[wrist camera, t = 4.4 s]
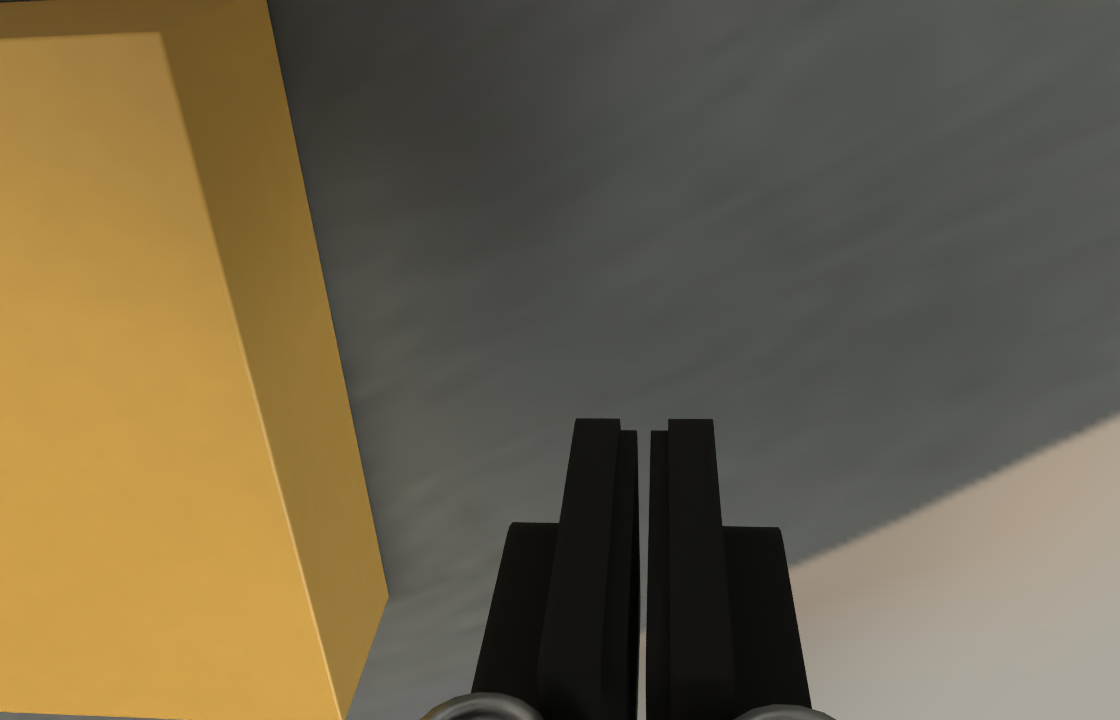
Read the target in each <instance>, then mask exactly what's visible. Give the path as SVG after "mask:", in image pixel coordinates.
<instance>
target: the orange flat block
mask: <svg viewBox="0 0 1120 720" xmlns="http://www.w3.org/2000/svg"><path fill="white" fill-rule="evenodd" d="M388 596H389V595H388V590H387V585H386V580H385V575H384V571H383V566H382V561H381V556H380V551H379V546H378V541H377V536H376V532H375V527H374V522H373V517H372V512H371V507H370V502H369V497H368V493H367V488H366V483H365V478H364V473H363V468H362V463H361V459H360V454H359V449H358V444H357V439H356V434H355V429H354V424H353V420H352V415H351V410H350V405H349V400H348V395H347V390H346V386H345V381H344V376H343V371H342V366H341V361H340V356H339V351H338V347H337V342H336V337H335V332H334V327H333V322H332V317H331V312H330V308H329V303H328V298H327V293H326V288H325V283H324V278H323V274H322V269H321V264H320V259H319V254H318V249H317V244H316V239H315V235H314V230H313V225H312V220H311V215H310V210H309V205H308V201H307V196H306V191H305V186H304V181H303V176H302V171H301V166H300V162H299V157H298V152H297V147H296V142H295V137H294V132H293V127H292V123H291V118H290V113H289V108H288V103H287V98H286V93H285V89H284V84H283V79H282V74H281V69H280V64H279V59H278V54H277V50H276V45H275V40H274V35H273V30H272V25H271V20H270V16H269V11H268V6H267V1H266V0H43V1H23V2H3V3H0V712H17V713H41V714H65V715H89V716H113V717H137V718H161V719H185V720H345V719H346V716H347V713H348V710H349V708H350V705H351V702H352V699H353V696H354V693H355V690H356V688H357V685H358V682H359V679H360V676H361V673H362V671H363V668H364V665H365V662H366V659H367V656H368V653H369V651H370V648H371V645H372V642H373V639H374V636H375V634H376V631H377V628H378V625H379V622H380V619H381V616H382V614H383V611H384V608H385V605H386V602H387V599H388Z"/></svg>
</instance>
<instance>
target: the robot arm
mask: <svg viewBox="0 0 1120 720" xmlns="http://www.w3.org/2000/svg"><path fill="white" fill-rule="evenodd" d="M639 645H640V549H639V498H638V446H637V430H621V426H620V419H591V418H577V419H576V420H575V425H574V432H573V438H572V445H571V451H570V457H569V464H568V470H567V477H566V483H565V490H564V496H563V503H562V509H561V515H560V522H559V523H525V522H512V524H511V525H510V527H509V530H508V533H507V537H506V542H505V546H504V550H503V555H502V559H501V564H500V568H499V572H498V577H497V581H496V585H495V590H494V594H493V598H492V603H491V607H490V612H489V616H488V620H487V625H486V629H485V633H484V638H483V642H482V646H481V651H480V655H479V660H478V664H477V668H476V673H475V677H474V681H473V686H472V690H471V694H467V695H462V696H458V697H454V698H452V699H450V700H448V701H446V702H444V703H442V704H440V705H438V706H436V707H434V708H433V709H431V710H430V711H429V712H428V713H427V714H426V715H425V716H423V717H422V718H421V719H420V720H637V709H638V677H639V676H638V675H639ZM646 720H836V719H834V718H832V717H830V716H829V715H827V714H825V713H823V712H819V711H816V710H813V709H812V706H811V700H810V694H809V689H808V683H807V677H806V671H805V665H804V660H803V654H802V648H801V643H800V637H799V631H798V625H797V619H796V614H795V608H794V602H793V596H792V590H791V584H790V578H789V573H788V567H787V561H786V555H785V549H784V544H783V539H782V534H781V531H780V529H779V527H734V526H722V518H721V507H720V495H719V483H718V472H717V460H716V449H715V437H714V426H713V420H712V419H668V431H651V449H650V494H649V539H648V584H647V629H646Z"/></svg>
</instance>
